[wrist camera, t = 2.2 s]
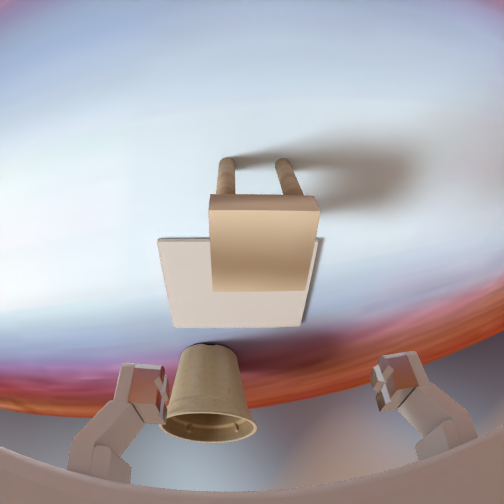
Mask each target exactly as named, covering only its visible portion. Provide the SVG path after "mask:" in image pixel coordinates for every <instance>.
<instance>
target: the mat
mask: <svg viewBox="0 0 504 504" xmlns="http://www.w3.org/2000/svg"><path fill="white" fill-rule="evenodd" d="M157 244H158V250H159V256H160V261H161V267H162V272H163V277H164V282H165V287H166V292H167V297H168V302H169V306H170V311H171V315H172V320H173V324H174V327H177V328H262V327H293V326H300V324H301V320H302V316H303V311H304V307H305V303H306V298H307V294H308V289H309V285H310V280H311V276H312V271H313V266H314V261H315V257H316V252H317V247H318V239H315V244H314V249H313V255H312V260H311V265H310V270H309V274H308V279H307V284H306V289H305V291H263V292H213V287H212V271H211V253H210V239H158V241H157Z"/></svg>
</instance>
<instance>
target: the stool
mask: <svg viewBox="0 0 504 504" xmlns="http://www.w3.org/2000/svg"><path fill="white" fill-rule="evenodd" d="M275 168H276V172H277V175H278V178H279V181H280V184H281V188H282V191H283V194H284V195H256V194H235V163H234V161H233V160H232V159H231V158H223V159H222V160H221V161H220V163H219V171H218V180H217V190H216V194H210V202H209V210H208V212H209V234H210V253H211V271H212V287H213V292H263V291H305V289H306V284H307V279H308V274H309V270H310V265H311V260H312V255H313V249H314V244H315V239H316V234H317V228H318V223H319V217H320V212H321V211H320V209H319V207H318V205H317V203H316V200H315V198H314V196H304V195H303V193H302V190H301V188H300V186H299V183H298V181H297V178H296V176H295V174H294V171H293V169H292V167H291V165H290V162H289V161H288V160H286V159H280V160H278V161H277V162H276V164H275Z"/></svg>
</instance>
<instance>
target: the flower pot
mask: <svg viewBox="0 0 504 504" xmlns="http://www.w3.org/2000/svg"><path fill="white" fill-rule="evenodd" d="M159 426H160V428H161V429H162V430H163V431H164V432H166V433H167V434H169V435H172V436H174V437H177V438H180V439H184V440H188V441H194V442H205V443H222V442H230V441H237V440H241V439H244V438H246V437H249V436H251V435H252V434H254V433H255V432H256V431H257V424H256V422H255V421H254V420H253V419H252V416H251V412H250V410H249V409H248V408H247V404H246V400H245V395H244V390H243V386H242V381H241V376H240V371H239V366H238V360H237V357H236V355H235V353H234V352H233V351H231V350H230V349H228V348H226V347H224V346H221V345H218V344H217V345H212V346H210V345H205V344H196V345H193V346H190V347H188V348H186V349H185V350H184V351H183V352H182V354H181V356H180V361H179V365H178V369H177V373H176V378H175V382H174V386H173V390H172V394H171V398H170V402H169V405H168V406H167V419H166V425H162V424H159Z"/></svg>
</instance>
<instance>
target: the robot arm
mask: <svg viewBox="0 0 504 504" xmlns="http://www.w3.org/2000/svg"><path fill="white" fill-rule="evenodd" d="M164 374H165V369H164V367H163V366H162V365H145V364H135V363H123V364H122V366H121V369H120V373H119V377H118V382H117V386H116V391H115V396H114V401H109V402H108V403H107V404H106V405H105V406H104V407H103V408H102V409H101V410H100V411H99V412H98V413H97V414H96V415H95V416H94V417H93V418H92V419H91V420H90V421H89V422H88V424H86V426H84V428H83V429H82V430H81V431H80V432H79V433H78V434H77V435H76V436H75V437H74V438H73V439H72V444H71V450H70V454H69V460H68V465H67V470H66V469H62V468H59V467H56V466H52V465H49V464H46V463H43V462H40V461H37V460H35V459H32V458H29V457H26V456H24V455H21V454H18V453H16V452H13V451H11V450H8V449H6V448H4V447H1V446H0V504H504V424H503V425H502V426H500V427H498V428H496V429H494V430H492V431H490V432H488V433H486V434H484V435H482V436H479V437H478V436H477V433H476V430H475V428H474V425H473V423H472V420H471V417H470V415H469V412H468V411H466V410H465V409H464V408H463V407H462V406H460V405H459V404H458V403H457V402H456V401H454V400H453V399H452V398H451V397H449V396H448V395H447V394H446V393H444V392H443V391H442V390H441V389H439V388H438V387H437V386H436V385H434V384H433V383H429V380H428V378H427V376H426V373H425V371H424V369H423V366H422V364H421V362H420V359H419V357H418V355H417V353H416V352H415V351H410V352H404V353H397V354H391V355H385V356H381V357H380V358H379V360H378V365H377V366H375V367H374V368H373V370H372V372H371V384H372V388H373V389H374V390H375V391H376V392H377V393H378V394H377V396H376V401H377V404H378V407H379V411H380V412H381V411H386V410H391V409H397V408H398V411H400V413H401V414H402V415H403V416H404V417H405V418H406V419H407V420H408V421H409V422H410V423H411V424H412V425H413V426H414V427H415V428H416V430H418V432H419V433H420V434H421V435H422V436H423V437H424V438H423V439H422V440H421V441H419V442H418V443H417V444H416V446H415V449H416V453H417V456H418V460H419V461H417V462H414V463H411V464H407V465H404V466H401V467H397V468H394V469H390V470H387V471H383V472H379V473H375V474H371V475H367V476H363V477H359V478H354V479H349V480H344V481H339V482H333V483H328V484H321V485H314V486H307V487H300V488H291V489H280V490H266V491H247V492H246V491H244V492H210V491H209V492H208V491H188V490H175V489H164V488H155V487H148V486H140V485H134V484H130V479H131V467H130V466H129V464H128V463H126V462H125V461H124V460H123V459H122V458H120V456H121V455H122V453H123V452H124V451H125V450H126V448H127V447H128V446H129V444H130V443H131V442H132V441H133V439H134V438H135V437H136V435H137V434H138V433H139V431H140V430H141V429H142V427H143V426H144V423H148V424H162V425H166V419H167V407H166V405H165V402H166V401H167V400H168V399H169V382H168V378H167V376H165V375H164Z"/></svg>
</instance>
